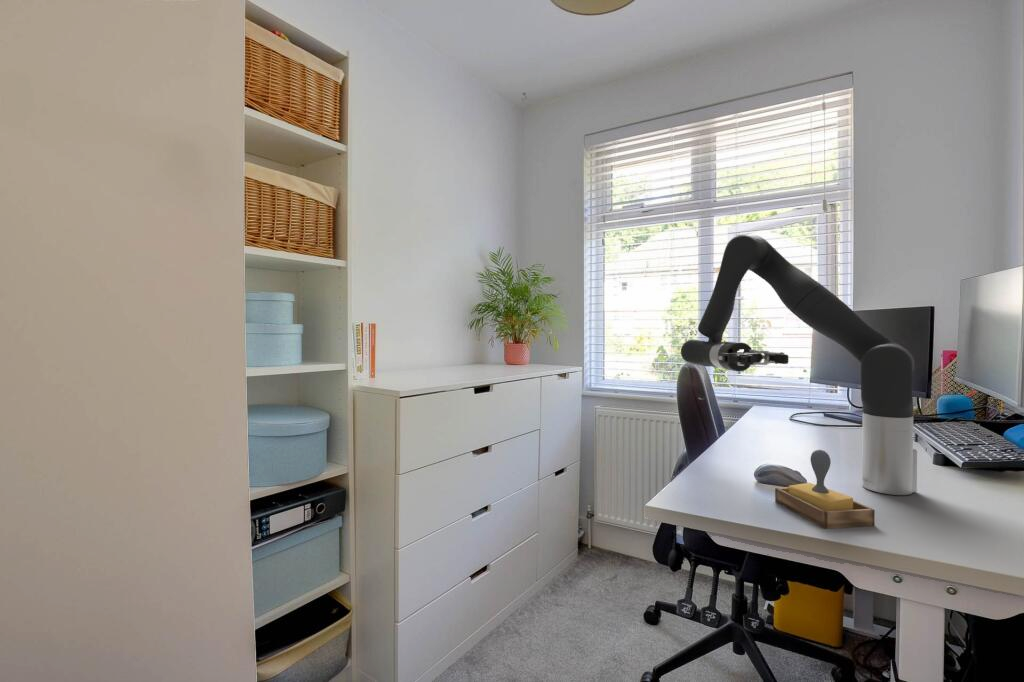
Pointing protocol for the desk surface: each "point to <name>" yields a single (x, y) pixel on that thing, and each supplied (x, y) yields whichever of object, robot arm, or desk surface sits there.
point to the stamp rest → (826, 512)
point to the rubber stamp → (821, 487)
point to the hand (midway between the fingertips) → (769, 359)
